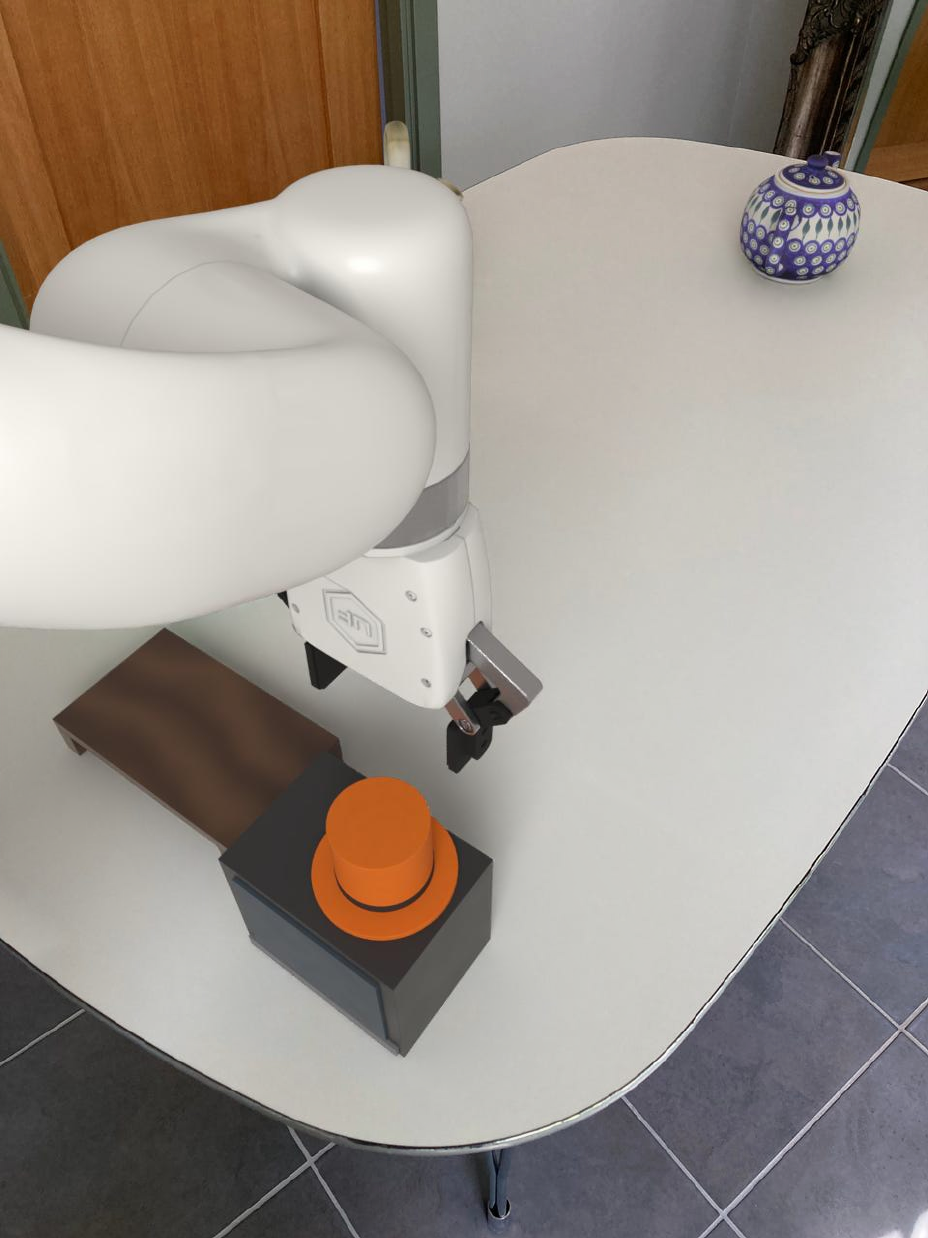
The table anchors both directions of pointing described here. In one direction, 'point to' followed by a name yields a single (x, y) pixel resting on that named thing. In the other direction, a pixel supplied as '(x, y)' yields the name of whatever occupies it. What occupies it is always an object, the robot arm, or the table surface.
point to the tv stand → (194, 736)
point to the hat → (383, 861)
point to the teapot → (801, 221)
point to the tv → (328, 956)
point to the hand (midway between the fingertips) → (398, 712)
